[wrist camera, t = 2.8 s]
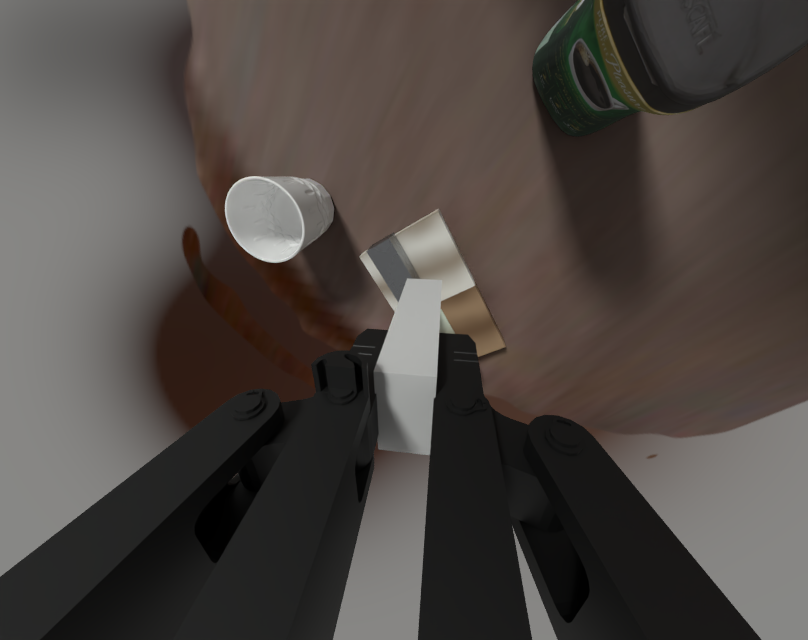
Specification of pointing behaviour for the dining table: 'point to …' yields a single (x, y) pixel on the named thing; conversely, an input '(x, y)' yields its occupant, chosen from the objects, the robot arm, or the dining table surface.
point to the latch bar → (392, 263)
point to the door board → (445, 281)
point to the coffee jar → (659, 55)
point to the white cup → (277, 215)
